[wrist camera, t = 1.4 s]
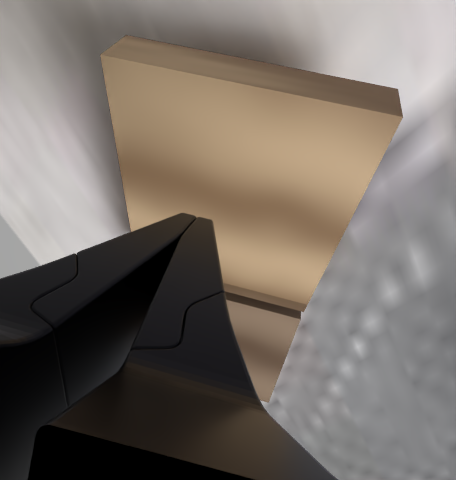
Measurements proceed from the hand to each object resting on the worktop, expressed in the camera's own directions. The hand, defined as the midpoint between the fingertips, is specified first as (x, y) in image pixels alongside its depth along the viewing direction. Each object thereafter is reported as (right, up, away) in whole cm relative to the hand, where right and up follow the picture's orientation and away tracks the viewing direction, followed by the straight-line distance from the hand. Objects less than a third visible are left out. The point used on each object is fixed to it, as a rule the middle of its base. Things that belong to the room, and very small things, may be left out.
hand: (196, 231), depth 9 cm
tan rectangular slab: (+1, +2, +8) cm, 8 cm away
